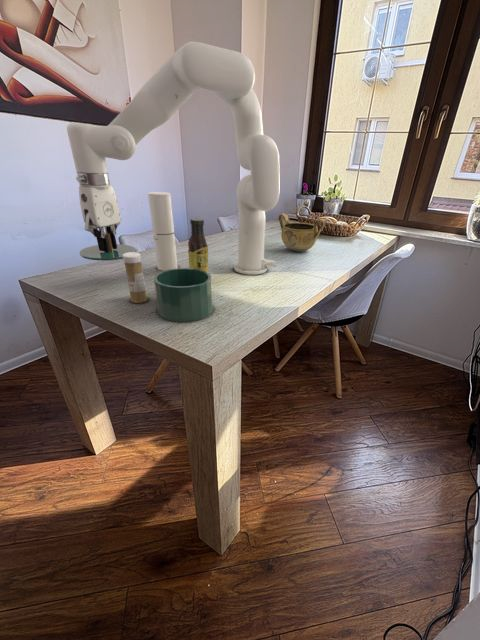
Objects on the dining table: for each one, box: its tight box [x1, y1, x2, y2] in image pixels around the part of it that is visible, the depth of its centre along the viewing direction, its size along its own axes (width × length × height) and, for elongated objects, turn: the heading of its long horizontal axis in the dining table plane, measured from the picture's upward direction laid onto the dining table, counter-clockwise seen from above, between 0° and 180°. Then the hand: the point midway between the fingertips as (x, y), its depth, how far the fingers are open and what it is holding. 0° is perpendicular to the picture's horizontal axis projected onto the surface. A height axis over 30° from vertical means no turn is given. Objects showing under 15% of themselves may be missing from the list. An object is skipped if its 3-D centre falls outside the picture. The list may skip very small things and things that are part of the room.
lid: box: [79, 232, 138, 262], centre depth 92 cm, size 16×16×6 cm
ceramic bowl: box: [278, 213, 327, 253], centre depth 142 cm, size 22×17×15 cm
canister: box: [153, 267, 213, 323], centre depth 84 cm, size 15×15×10 cm
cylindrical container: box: [147, 191, 178, 271], centre depth 109 cm, size 7×7×25 cm
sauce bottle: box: [187, 217, 209, 273], centre depth 100 cm, size 7×6×20 cm
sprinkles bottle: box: [122, 252, 148, 304], centre depth 86 cm, size 5×5×13 cm
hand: (108, 249), depth 93 cm, fingers closed on lid, 2 cm apart
